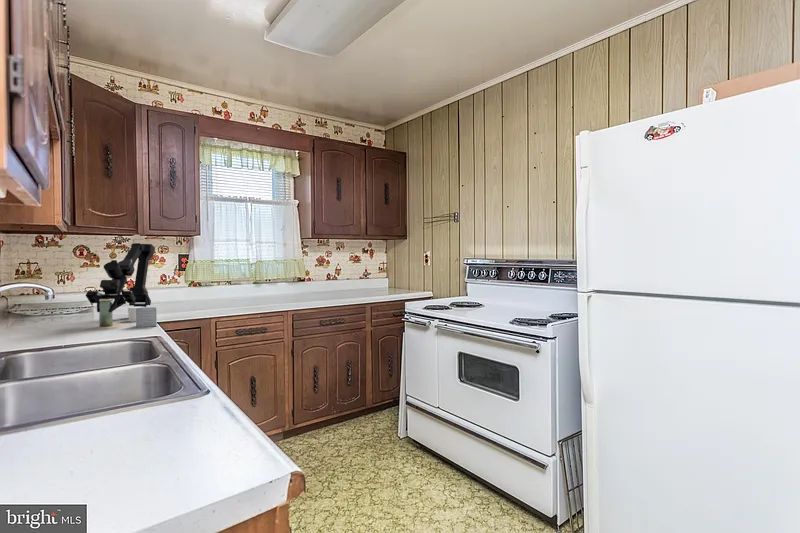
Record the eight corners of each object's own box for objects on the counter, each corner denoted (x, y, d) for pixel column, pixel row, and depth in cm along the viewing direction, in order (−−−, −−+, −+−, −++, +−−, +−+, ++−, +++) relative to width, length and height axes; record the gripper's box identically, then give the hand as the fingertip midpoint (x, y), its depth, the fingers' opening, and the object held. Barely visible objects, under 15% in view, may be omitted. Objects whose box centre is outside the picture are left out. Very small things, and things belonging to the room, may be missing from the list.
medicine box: (156, 325, 195) (156, 306, 195) (156, 326, 191) (156, 307, 191) (136, 326, 192) (136, 307, 191) (135, 327, 188) (135, 308, 188)
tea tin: (102, 325, 192) (102, 298, 192) (114, 324, 192) (114, 298, 192) (96, 326, 187) (96, 299, 187) (109, 326, 188) (109, 299, 187)
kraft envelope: (110, 323, 198) (110, 323, 198) (131, 323, 199) (131, 322, 199) (93, 328, 184) (93, 327, 184) (115, 328, 186) (115, 327, 186)
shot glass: (141, 319, 212) (140, 305, 212) (146, 321, 208) (146, 306, 207) (125, 321, 207) (125, 307, 207) (130, 322, 202) (130, 308, 202)
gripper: (87, 273, 192) (72, 300, 181) (132, 273, 194) (120, 299, 184) (97, 289, 200) (84, 316, 189) (140, 289, 202) (129, 315, 192)
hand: (104, 311), depth 188 cm, fingers closed on tea tin, 5 cm apart
